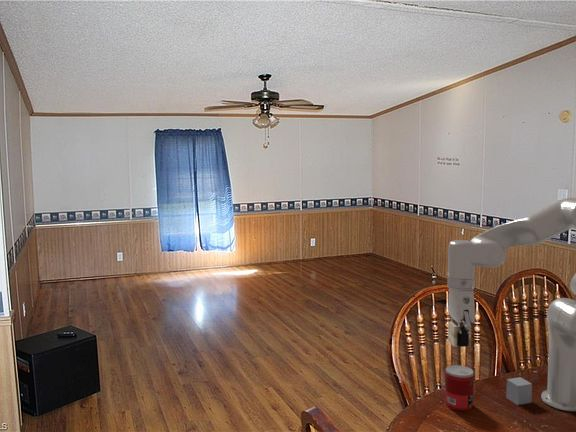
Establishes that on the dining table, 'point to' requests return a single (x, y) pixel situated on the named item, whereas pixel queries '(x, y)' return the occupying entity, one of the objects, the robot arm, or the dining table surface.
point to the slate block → (519, 391)
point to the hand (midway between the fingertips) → (459, 342)
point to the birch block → (455, 333)
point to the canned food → (459, 387)
